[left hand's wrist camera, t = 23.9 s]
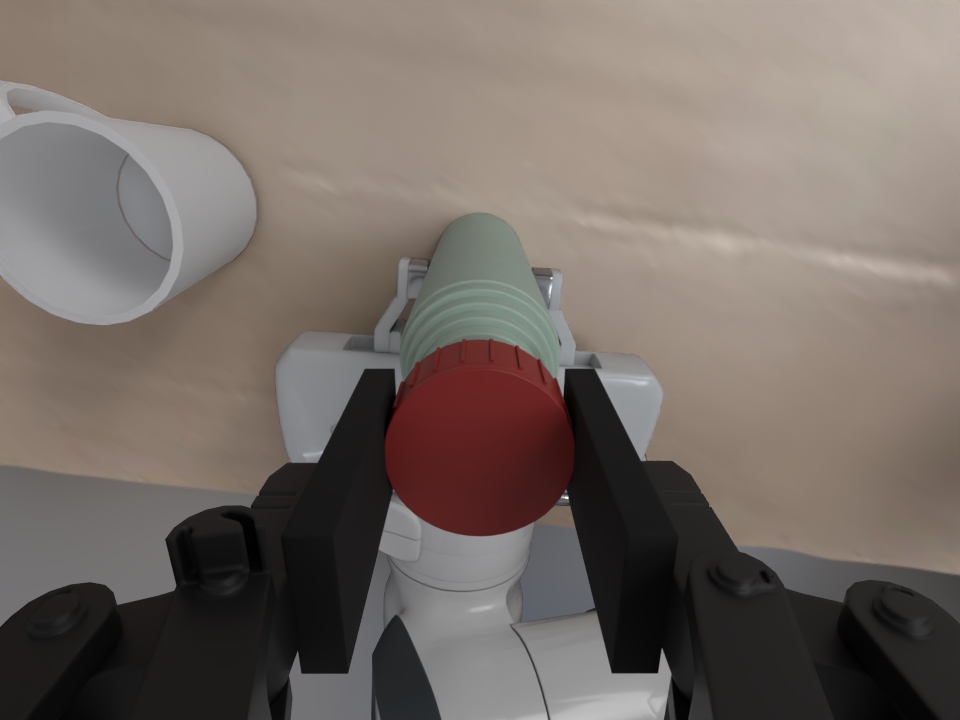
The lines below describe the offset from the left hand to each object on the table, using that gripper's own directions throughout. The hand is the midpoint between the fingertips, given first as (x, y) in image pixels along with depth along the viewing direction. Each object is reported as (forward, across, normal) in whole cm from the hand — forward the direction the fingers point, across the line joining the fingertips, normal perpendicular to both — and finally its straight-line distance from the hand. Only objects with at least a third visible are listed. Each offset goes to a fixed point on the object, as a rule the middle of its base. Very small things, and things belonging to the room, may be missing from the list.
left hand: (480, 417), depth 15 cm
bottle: (+22, 0, 0) cm, 22 cm away
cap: (-2, 0, 0) cm, 2 cm away
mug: (+22, +18, -4) cm, 28 cm away
